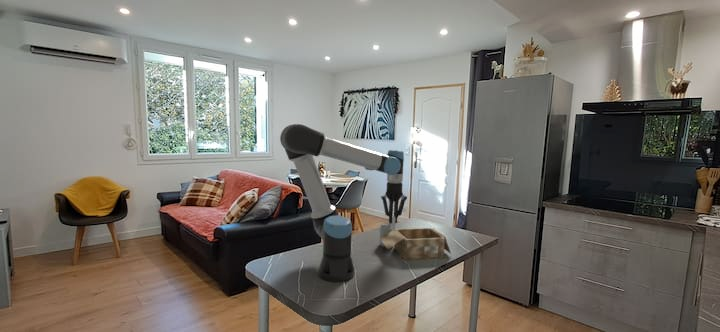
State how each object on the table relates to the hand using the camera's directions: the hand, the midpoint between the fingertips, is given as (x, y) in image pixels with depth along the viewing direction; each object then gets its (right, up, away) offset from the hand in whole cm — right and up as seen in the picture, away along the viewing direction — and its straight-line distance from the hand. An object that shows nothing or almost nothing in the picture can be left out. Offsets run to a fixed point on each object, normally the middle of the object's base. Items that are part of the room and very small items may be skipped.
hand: (392, 229), depth 157 cm
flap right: (+26, -7, +6) cm, 27 cm away
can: (-2, -11, +13) cm, 18 cm away
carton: (+13, -13, +4) cm, 19 cm away
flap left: (-1, -4, 0) cm, 5 cm away
